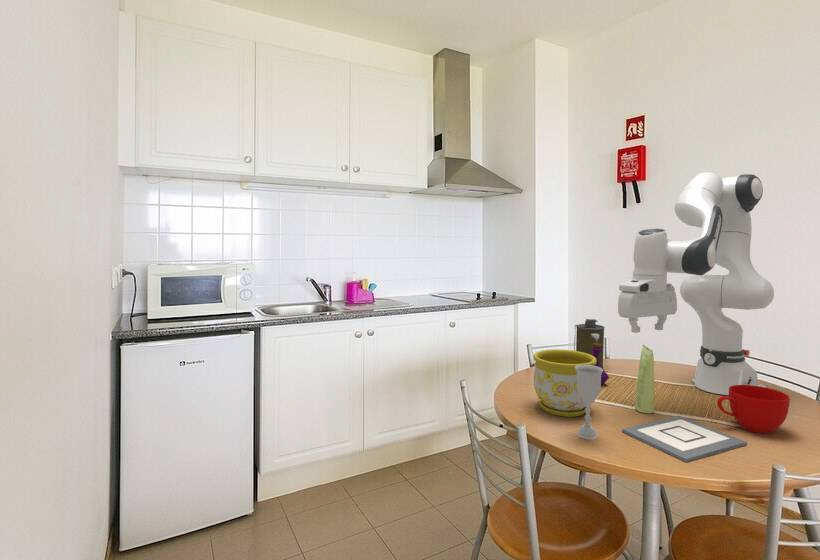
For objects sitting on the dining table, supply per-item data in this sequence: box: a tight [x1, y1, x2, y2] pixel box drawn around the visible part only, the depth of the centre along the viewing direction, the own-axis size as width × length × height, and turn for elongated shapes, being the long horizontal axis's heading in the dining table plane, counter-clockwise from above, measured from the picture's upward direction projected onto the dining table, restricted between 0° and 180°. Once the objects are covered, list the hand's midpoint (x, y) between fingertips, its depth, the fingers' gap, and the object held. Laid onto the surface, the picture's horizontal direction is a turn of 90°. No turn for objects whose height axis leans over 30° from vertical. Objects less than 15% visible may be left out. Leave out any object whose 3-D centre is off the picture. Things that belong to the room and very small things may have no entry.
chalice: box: [575, 365, 604, 441], centre depth 116 cm, size 7×7×18 cm
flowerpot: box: [533, 348, 597, 418], centre depth 134 cm, size 18×18×16 cm
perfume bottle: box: [591, 334, 610, 386], centre depth 158 cm, size 8×8×18 cm
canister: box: [573, 318, 606, 369], centre depth 175 cm, size 11×10×20 cm
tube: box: [635, 344, 655, 414], centre depth 132 cm, size 6×5×20 cm
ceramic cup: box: [717, 385, 791, 434], centre depth 120 cm, size 13×17×10 cm
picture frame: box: [621, 415, 748, 463], centre depth 115 cm, size 22×18×1 cm
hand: (647, 331), depth 131 cm, fingers open, 8 cm apart
